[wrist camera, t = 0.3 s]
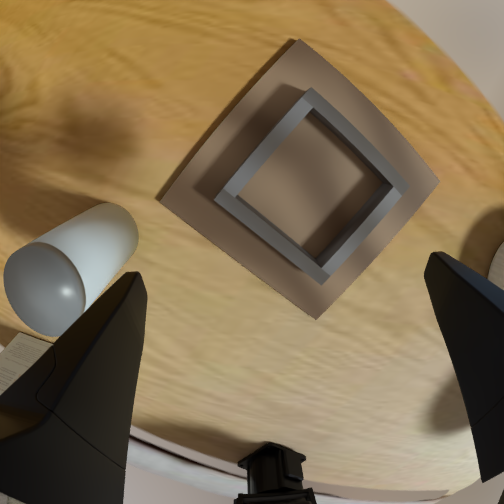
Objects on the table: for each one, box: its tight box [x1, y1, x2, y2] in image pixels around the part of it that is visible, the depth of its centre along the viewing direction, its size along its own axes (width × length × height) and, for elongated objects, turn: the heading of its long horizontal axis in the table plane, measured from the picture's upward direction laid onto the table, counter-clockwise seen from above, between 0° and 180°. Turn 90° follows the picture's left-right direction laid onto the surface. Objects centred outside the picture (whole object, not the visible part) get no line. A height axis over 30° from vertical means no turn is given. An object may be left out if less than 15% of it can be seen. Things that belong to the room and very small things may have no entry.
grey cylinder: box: [4, 203, 138, 337], centre depth 19 cm, size 5×5×11 cm
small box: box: [0, 332, 53, 395], centre depth 23 cm, size 8×6×13 cm
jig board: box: [160, 39, 440, 320], centre depth 22 cm, size 16×16×3 cm
